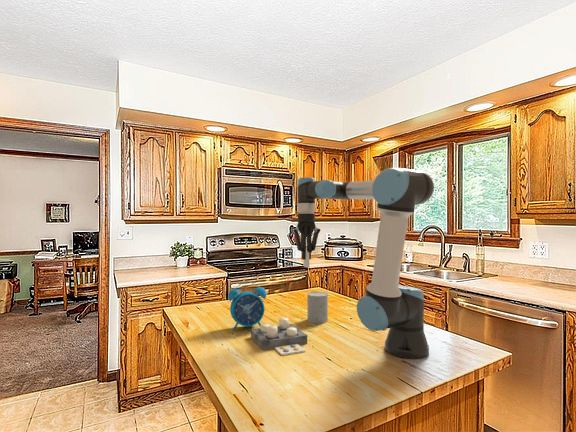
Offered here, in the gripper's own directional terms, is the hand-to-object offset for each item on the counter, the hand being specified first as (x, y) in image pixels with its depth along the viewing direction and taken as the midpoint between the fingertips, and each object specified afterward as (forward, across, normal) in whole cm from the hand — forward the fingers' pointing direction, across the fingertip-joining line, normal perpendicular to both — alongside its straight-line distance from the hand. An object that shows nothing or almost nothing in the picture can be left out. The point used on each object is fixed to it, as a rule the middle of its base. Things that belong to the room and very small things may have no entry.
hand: (306, 266), depth 154 cm
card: (+26, +17, +22) cm, 38 cm away
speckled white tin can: (+27, -9, -7) cm, 29 cm away
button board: (+26, +17, +10) cm, 33 cm away
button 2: (+23, +21, +14) cm, 34 cm away
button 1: (+25, +21, +6) cm, 33 cm away
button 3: (+23, +13, +6) cm, 27 cm away
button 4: (+25, +13, +14) cm, 31 cm away
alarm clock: (+27, +24, -9) cm, 37 cm away
